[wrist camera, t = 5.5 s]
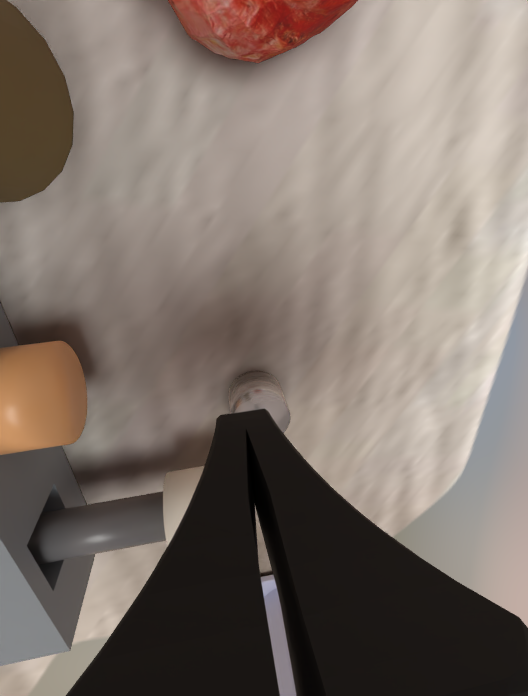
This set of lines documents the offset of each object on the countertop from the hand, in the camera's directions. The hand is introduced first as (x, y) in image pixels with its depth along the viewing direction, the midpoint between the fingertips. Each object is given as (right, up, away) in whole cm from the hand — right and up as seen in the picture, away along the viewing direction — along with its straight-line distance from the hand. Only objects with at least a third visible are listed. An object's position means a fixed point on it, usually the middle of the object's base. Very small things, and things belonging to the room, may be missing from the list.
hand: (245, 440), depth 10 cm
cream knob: (-6, -4, +7) cm, 11 cm away
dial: (0, 0, +8) cm, 8 cm away
